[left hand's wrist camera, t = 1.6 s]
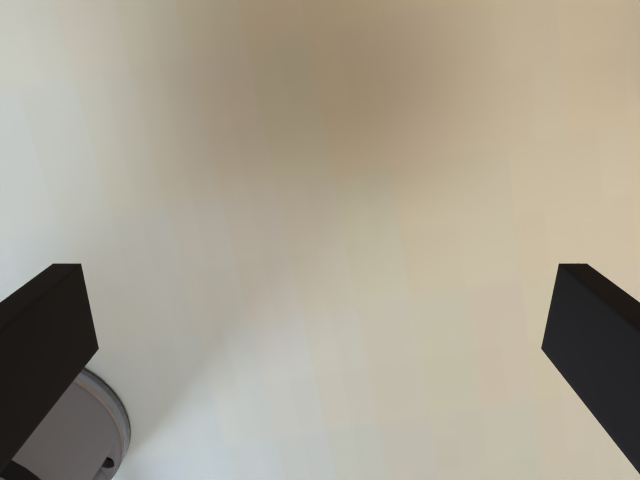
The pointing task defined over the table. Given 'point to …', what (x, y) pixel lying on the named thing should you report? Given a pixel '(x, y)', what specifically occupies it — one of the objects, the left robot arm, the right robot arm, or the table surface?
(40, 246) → the table surface
